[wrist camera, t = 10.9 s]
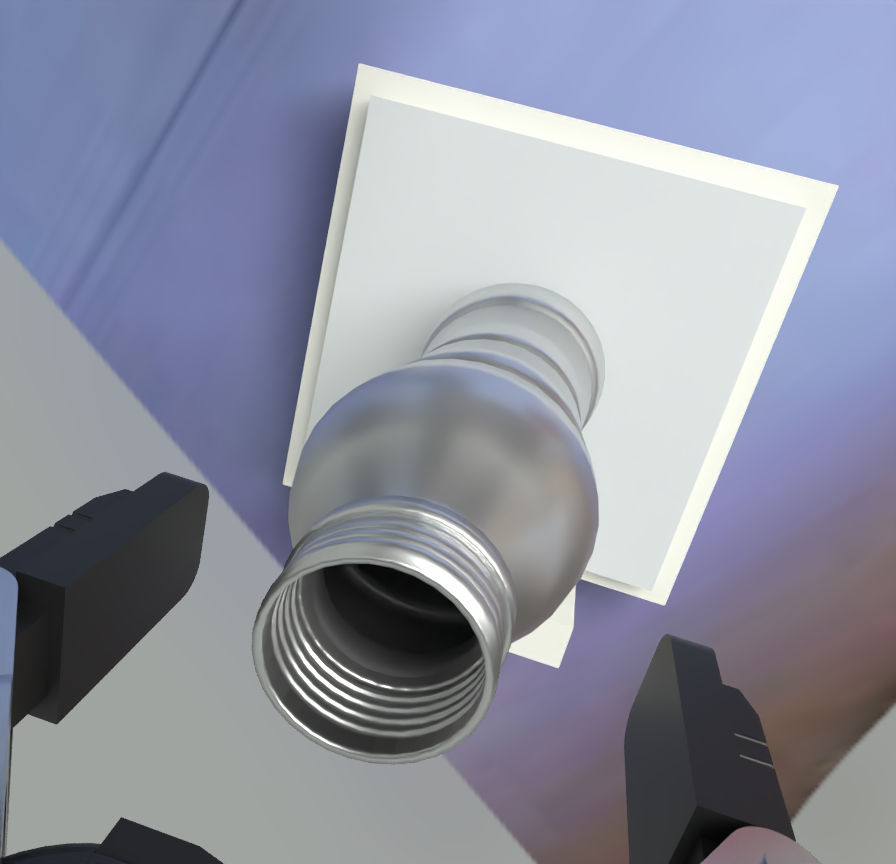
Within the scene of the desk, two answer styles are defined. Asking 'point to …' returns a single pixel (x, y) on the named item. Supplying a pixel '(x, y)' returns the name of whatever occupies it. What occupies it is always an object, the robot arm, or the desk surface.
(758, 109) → the desk surface
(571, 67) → the desk surface
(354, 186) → the plate
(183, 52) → the desk surface
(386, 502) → the silver metal bottle
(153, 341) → the desk surface
